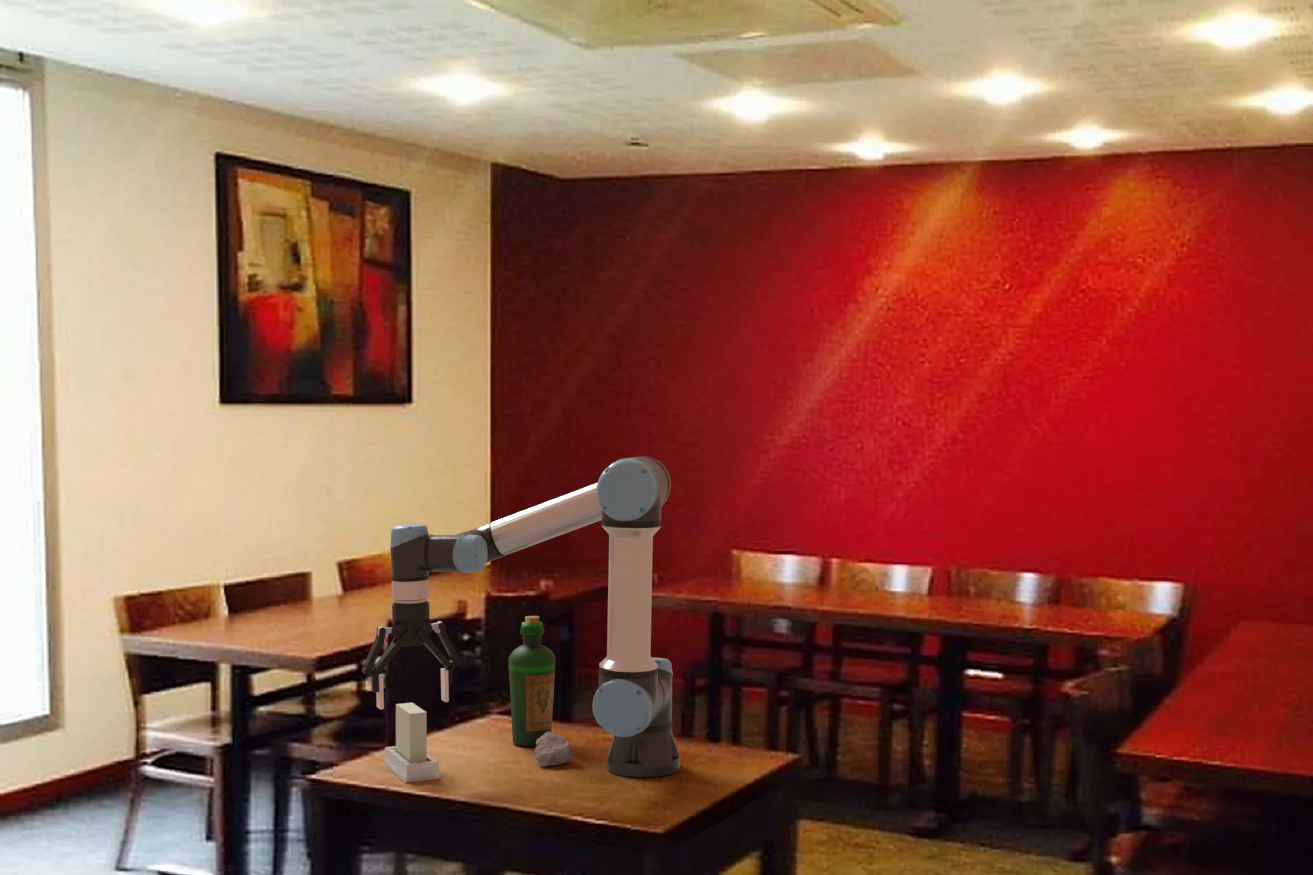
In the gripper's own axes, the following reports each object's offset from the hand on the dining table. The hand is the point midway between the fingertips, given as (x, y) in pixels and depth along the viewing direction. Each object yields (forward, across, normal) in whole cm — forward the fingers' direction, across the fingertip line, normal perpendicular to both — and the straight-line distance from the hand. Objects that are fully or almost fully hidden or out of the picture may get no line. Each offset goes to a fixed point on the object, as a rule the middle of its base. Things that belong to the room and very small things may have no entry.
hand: (413, 704), depth 303 cm
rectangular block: (+13, +1, 0) cm, 13 cm away
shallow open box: (+14, +1, 0) cm, 14 cm away
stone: (+15, -28, +4) cm, 32 cm away
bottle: (+14, -30, -12) cm, 36 cm away
